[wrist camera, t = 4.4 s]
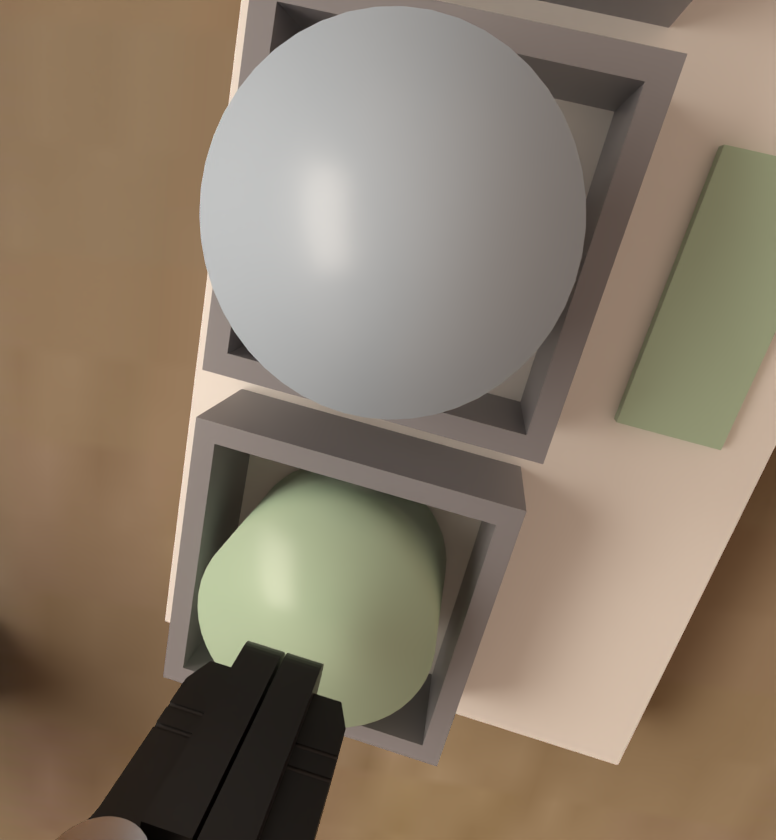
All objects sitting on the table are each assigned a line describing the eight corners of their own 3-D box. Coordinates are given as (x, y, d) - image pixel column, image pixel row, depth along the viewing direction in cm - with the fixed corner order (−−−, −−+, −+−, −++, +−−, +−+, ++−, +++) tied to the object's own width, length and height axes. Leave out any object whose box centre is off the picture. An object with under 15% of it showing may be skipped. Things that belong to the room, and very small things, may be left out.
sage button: (268, 437, 15) (213, 487, 12) (470, 494, 15) (465, 561, 12) (239, 605, 17) (184, 685, 14) (418, 661, 16) (402, 756, 13)
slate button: (302, 43, 10) (226, -34, 7) (601, 110, 10) (650, 56, 7) (256, 334, 12) (180, 367, 9) (509, 403, 12) (515, 460, 9)
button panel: (349, -502, 11) (265, -940, 7) (1118, -395, 10) (1566, -844, 6) (195, 584, 20) (115, 679, 16) (604, 711, 19) (638, 852, 14)
